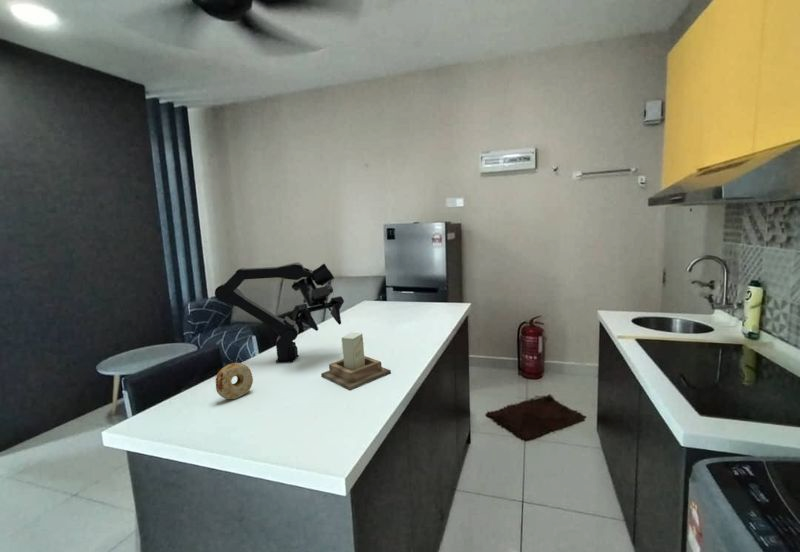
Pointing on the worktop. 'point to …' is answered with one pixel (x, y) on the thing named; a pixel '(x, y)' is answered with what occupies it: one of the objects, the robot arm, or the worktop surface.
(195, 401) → the worktop surface
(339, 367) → the socket
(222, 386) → the stone disc
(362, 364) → the skincare box
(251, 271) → the robot arm
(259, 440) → the worktop surface
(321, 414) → the worktop surface
